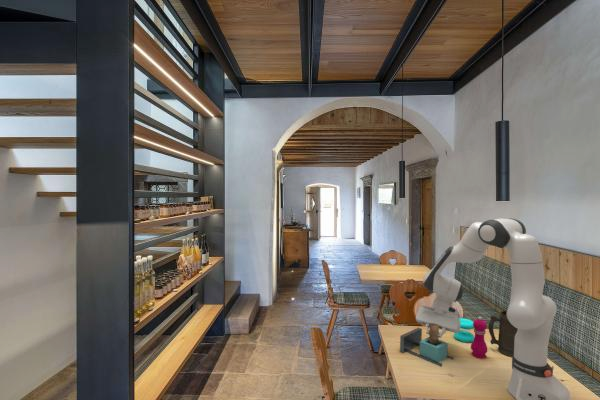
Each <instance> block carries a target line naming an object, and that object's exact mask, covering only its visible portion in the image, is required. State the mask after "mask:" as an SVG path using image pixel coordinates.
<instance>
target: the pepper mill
mask: <svg viewBox="0 0 600 400" xmlns="http://www.w3.org/2000/svg"><path fill="white" fill-rule="evenodd" d="M473 326H474V328H473V332H474V340H473V341H472V342H471V344H470V350H471V355H472V356H473V357H474V358H477V359H486V358H487V353H488V345H487V344H486V341H485V335H486V330H487V329H488V324H487V321H485V320H484V319H483V317H482V316H477V319H474V321H473Z"/></svg>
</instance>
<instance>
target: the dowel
mask: <svg viewBox="0 0 600 400" xmlns="http://www.w3.org/2000/svg"><path fill="white" fill-rule="evenodd" d="M429 330H430V335H429V334H428V335H429V336H428V337H429V344H432V345H435V346H437V345H438V340H439V337H438V332H439V330H440V329H439V325H437V324H434V323H431V324H430V328H429ZM439 333H440V332H439Z"/></svg>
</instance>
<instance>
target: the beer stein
mask: <svg viewBox="0 0 600 400" xmlns="http://www.w3.org/2000/svg"><path fill="white" fill-rule="evenodd" d="M499 313H500V314H499V317H498V316H497V315H494V314H492V315H490V320H489V323H488V324H487V329H488V332H489V335H490V338H491V339H490V344H491V345H497V346H498V347H497V351H498V352H499V353H501V354H502V355H503V356H507V357H510V358H513V355H514V339H515V335H516V333H517V331H518V328H516V327H514V326H513V325H512V324H511V323H510V322H509V320H508V318H507V310H501V312H499ZM495 322H499V325H498V326H499V328H498V339H496V336H495V331H494V323H495Z"/></svg>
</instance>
